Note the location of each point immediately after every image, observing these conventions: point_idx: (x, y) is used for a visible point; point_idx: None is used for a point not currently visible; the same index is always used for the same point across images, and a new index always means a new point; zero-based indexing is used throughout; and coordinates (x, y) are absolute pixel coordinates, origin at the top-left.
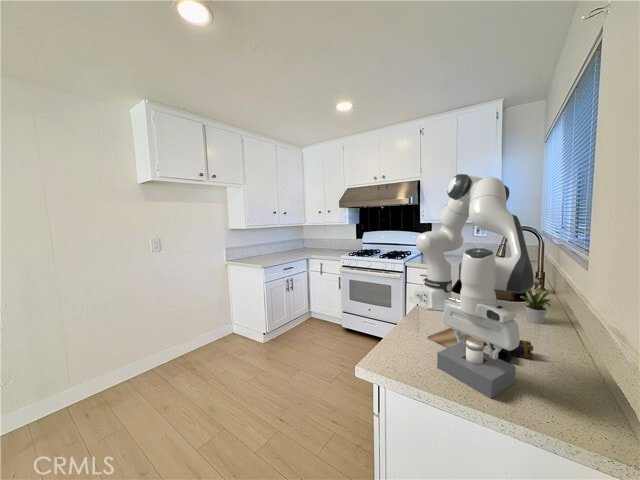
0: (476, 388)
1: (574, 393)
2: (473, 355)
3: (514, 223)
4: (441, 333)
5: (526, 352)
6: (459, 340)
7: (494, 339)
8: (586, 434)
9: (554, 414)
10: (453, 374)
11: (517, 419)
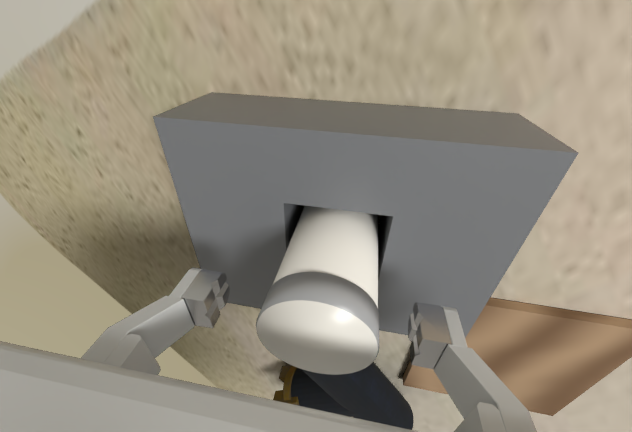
0: (272, 99)
1: (162, 296)
2: (307, 245)
3: None
4: (584, 375)
5: (286, 380)
6: (439, 330)
7: (23, 424)
8: (35, 165)
9: (106, 186)
10: (402, 109)
11: (95, 52)
